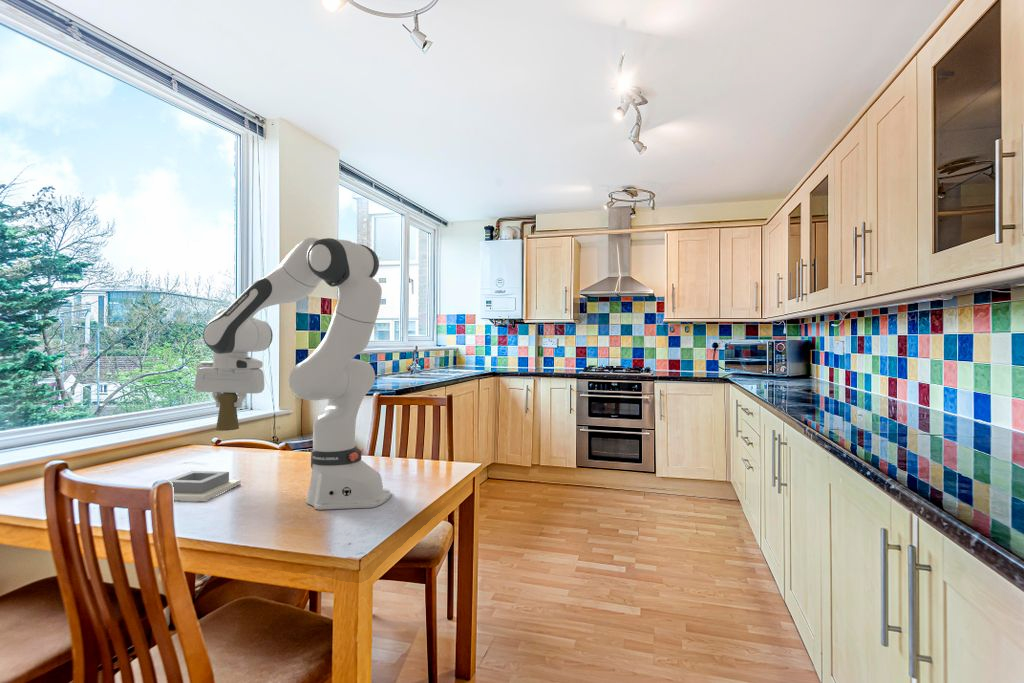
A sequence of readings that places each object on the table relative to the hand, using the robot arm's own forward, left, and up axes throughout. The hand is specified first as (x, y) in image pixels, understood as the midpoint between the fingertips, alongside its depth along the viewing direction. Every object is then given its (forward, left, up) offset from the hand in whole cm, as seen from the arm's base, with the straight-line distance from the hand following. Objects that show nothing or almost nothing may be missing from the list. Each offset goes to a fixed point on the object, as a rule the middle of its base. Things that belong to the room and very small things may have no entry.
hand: (229, 407), depth 147 cm
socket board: (+5, +6, -24) cm, 25 cm away
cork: (0, 0, -7) cm, 7 cm away
